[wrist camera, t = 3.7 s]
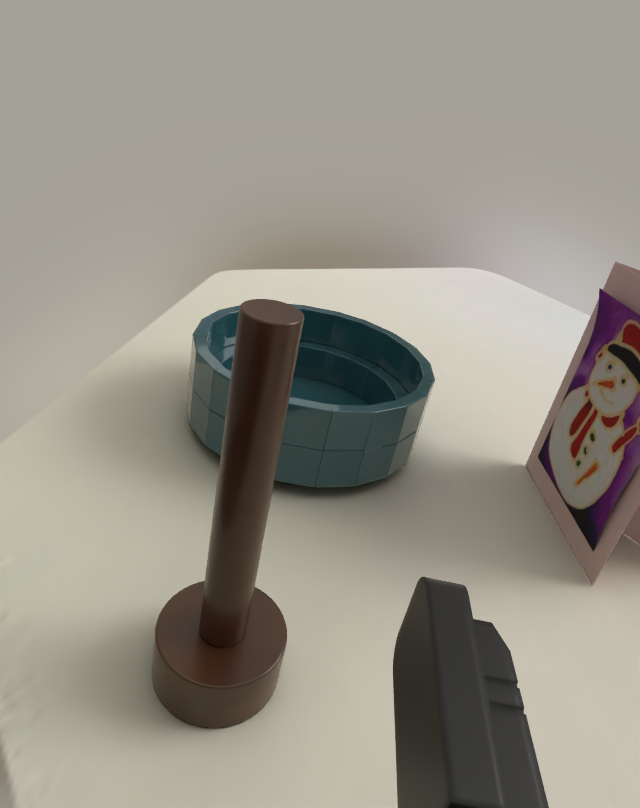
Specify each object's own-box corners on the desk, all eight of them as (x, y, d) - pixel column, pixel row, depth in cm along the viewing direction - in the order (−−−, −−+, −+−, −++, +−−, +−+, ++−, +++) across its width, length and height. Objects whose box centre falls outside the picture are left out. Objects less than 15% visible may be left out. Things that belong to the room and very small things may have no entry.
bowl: (198, 502, 32) (208, 408, 29) (179, 369, 44) (184, 295, 42) (447, 495, 37) (477, 414, 34) (366, 377, 50) (383, 311, 47)
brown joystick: (154, 739, 21) (186, 344, 13) (150, 623, 25) (173, 271, 17) (290, 718, 22) (387, 355, 15) (265, 612, 26) (332, 286, 19)
